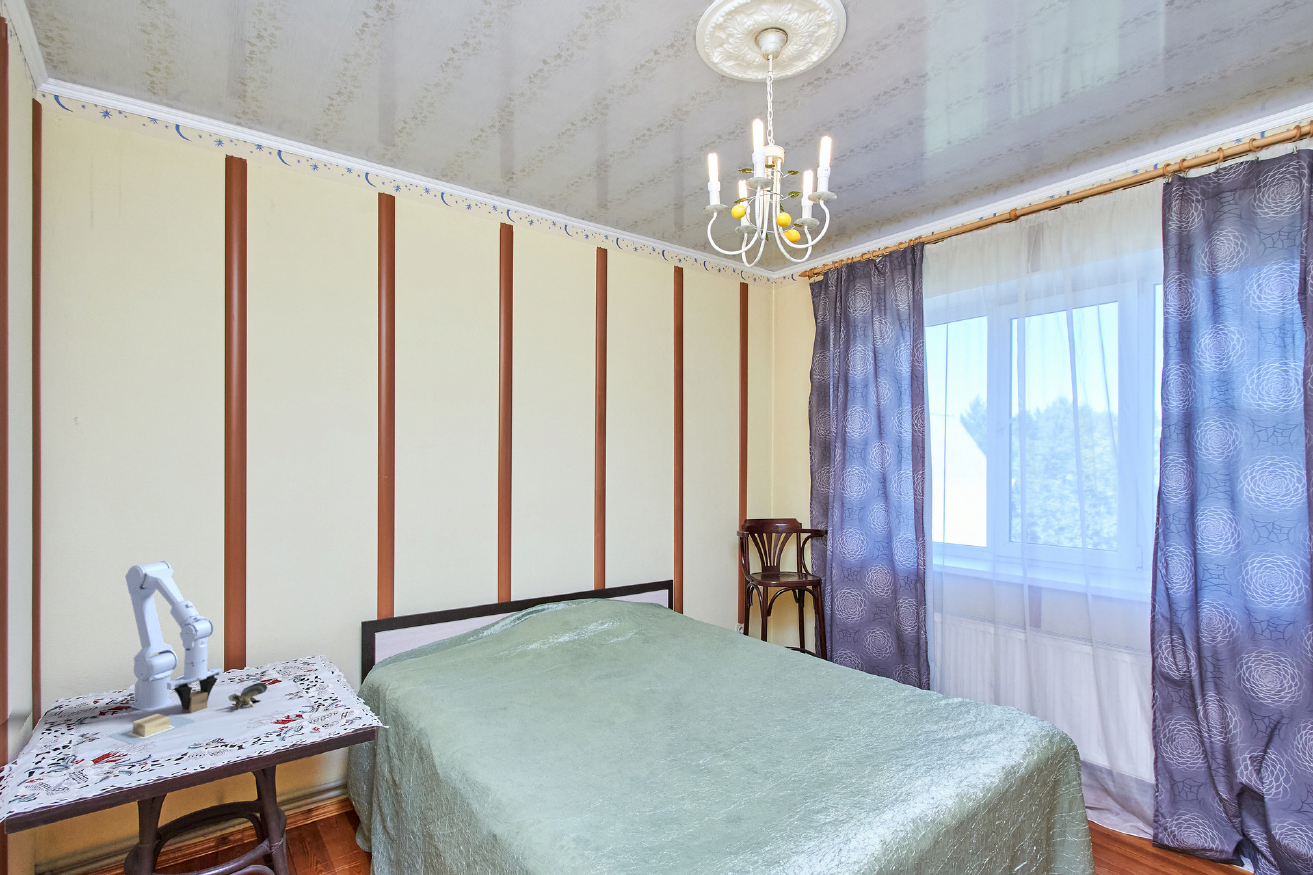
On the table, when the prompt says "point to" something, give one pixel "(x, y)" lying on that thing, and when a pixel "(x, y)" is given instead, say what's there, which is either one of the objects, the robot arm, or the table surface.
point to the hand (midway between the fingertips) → (194, 705)
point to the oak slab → (151, 725)
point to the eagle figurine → (248, 695)
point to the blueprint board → (134, 738)
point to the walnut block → (197, 701)
